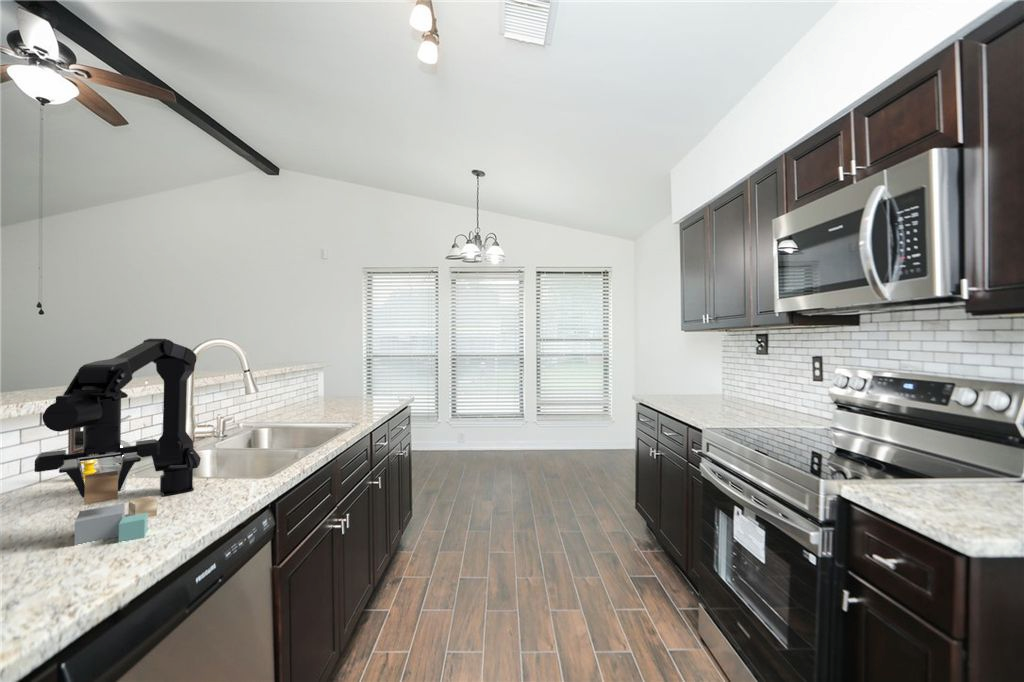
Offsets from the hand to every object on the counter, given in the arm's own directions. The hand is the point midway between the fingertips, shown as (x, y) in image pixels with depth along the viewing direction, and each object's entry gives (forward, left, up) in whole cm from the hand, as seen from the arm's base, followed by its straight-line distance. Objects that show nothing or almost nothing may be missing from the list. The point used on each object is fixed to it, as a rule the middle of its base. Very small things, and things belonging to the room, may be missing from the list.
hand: (101, 493), depth 88 cm
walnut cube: (0, 0, -1) cm, 1 cm away
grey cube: (0, 0, -9) cm, 9 cm away
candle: (+3, -52, -9) cm, 53 cm away
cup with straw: (-3, -35, -9) cm, 36 cm away
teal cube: (-5, +6, -9) cm, 12 cm away
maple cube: (-7, -6, -9) cm, 13 cm away
